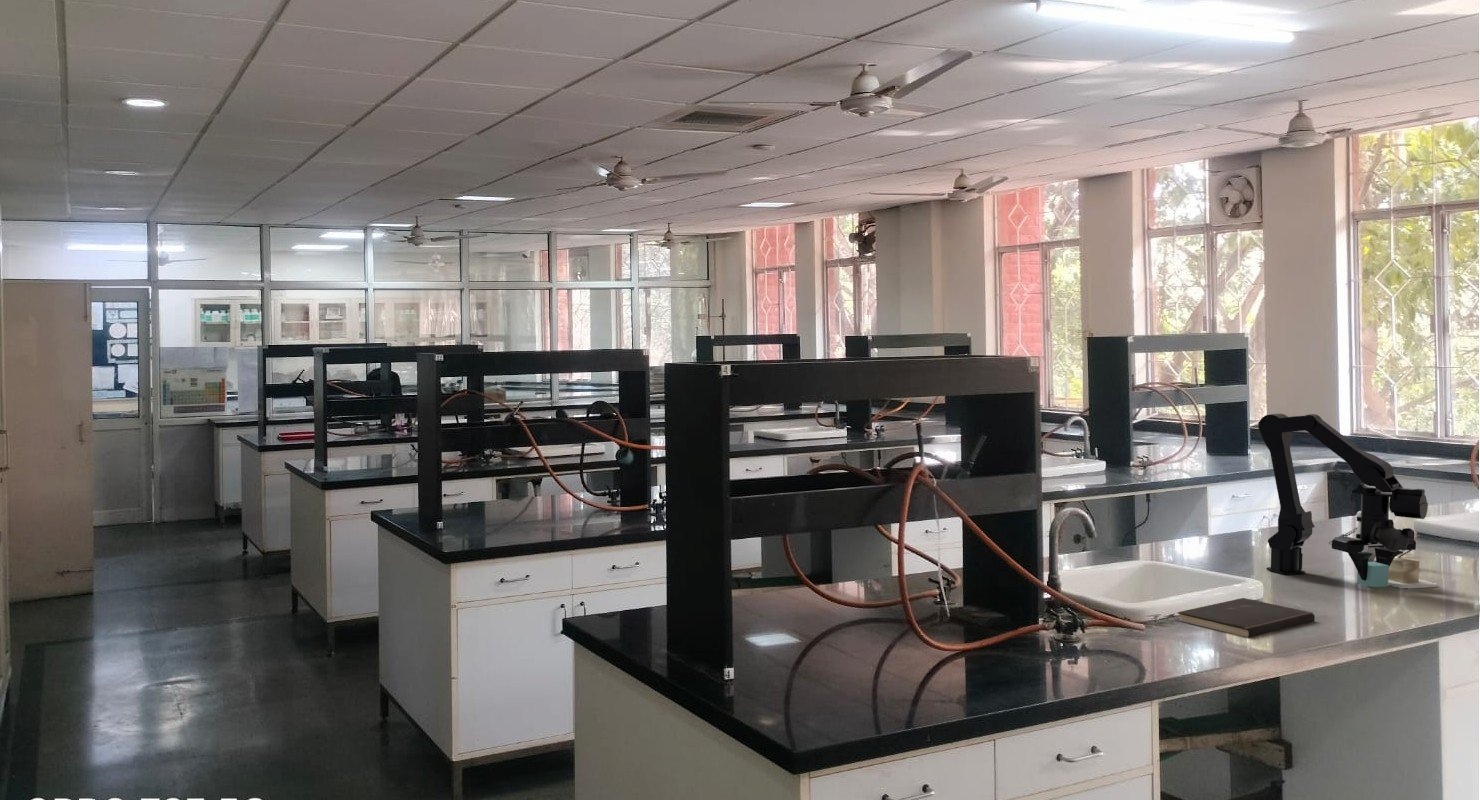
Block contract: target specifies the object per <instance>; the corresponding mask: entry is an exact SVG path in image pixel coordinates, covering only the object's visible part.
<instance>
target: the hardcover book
mask: <svg viewBox="0 0 1480 800" xmlns="http://www.w3.org/2000/svg"><path fill="white" fill-rule="evenodd" d="M1177 614H1178V615H1179V622H1184V623H1186V624H1187V623H1188V624H1191V625H1196V626H1200V627H1205V628H1207V629H1208V628H1209V629H1213V630H1217V631H1221V632H1224V633H1229V634H1233V635H1236V636H1242V637H1245V638H1248V639H1249V638H1255V637H1257V636H1261V635H1267V634H1269V633H1274V632H1278V631H1282V630H1285V629H1289V628H1293V627H1298V626H1302V625H1305V624H1306V625H1307V624H1308V623H1313V622H1314V623H1315V619H1316V618H1315V614H1314V613H1313V612H1312V611H1306V610H1302V609H1297V608H1293V607H1287V606H1283V605H1278V604H1274V603H1273V604H1272V603H1268V602H1263V601H1261V600H1260V601H1259V600H1255V599H1249V598H1244V597H1242V598H1241V597H1240V598H1236V599H1232V600H1227V601H1224V602H1218V603H1214V604H1210V605H1204V606H1200V607H1199V606H1198V607H1195V608H1191V609H1185V610H1182V611H1177Z"/></svg>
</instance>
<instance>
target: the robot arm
mask: <svg viewBox="0 0 1480 800" xmlns="http://www.w3.org/2000/svg"><path fill="white" fill-rule="evenodd" d="M1257 427H1258V431H1259V434H1260V437H1261V440H1262V441H1263V443H1264V444H1265V446H1266V448H1267V449H1268V451H1269V453H1270V459H1271V464H1272V468H1273V469H1272V470H1273V475H1274V480H1275V485H1276V491H1277V496H1278V500H1279V506H1280V507H1279V513H1278V517H1277V532H1275V533H1274V534H1273V535H1271V537H1269V538H1267V543H1268V546H1269V548H1270V567H1269V566H1268V567H1266V570H1267V571H1271V572H1274V573H1278V574H1280V575H1297V574H1306V571H1305V570H1303V555H1304V554H1303V553H1302V549H1303V548H1302V547H1303V546H1304V544H1305V541H1307V540H1308V539H1310V538H1311V536H1312V534H1313V528H1315V527H1316V526H1315V525H1314V523H1313V519H1312V518H1313V514H1312V511H1311V510H1309V511H1305V509H1304V508H1303V506H1302V504H1301V500H1300V495H1299V490H1298V483H1297V479H1296V478H1297V477H1296V473H1295V468H1294V464H1293V459H1292V458H1293V457H1292V452H1291V445H1292V442H1293V432H1302V431H1303V432H1304V431H1305V432H1308V434H1310V435H1311V436H1312V437H1314V438H1315V439H1316V440H1318V441H1319V442H1320V443H1321V444H1323V445H1324V446H1325V447H1326V448H1327V449H1330V450H1331V451H1332V452H1333V453H1334V454H1335V455H1337V456H1338V457H1340V459H1342V460H1343V461H1344V462H1345V463H1346V464H1347V465H1348V466H1349V468H1350V470H1352V471H1351V472H1353V474H1354V475H1355V476H1356V477H1357V478H1358V479H1359V480H1360V481H1361V482H1362V483H1359V484H1358V485H1357V487H1355V488H1354V489H1352V490H1351V493H1352V494H1354V495H1356V494H1357V495H1360V496H1361V501H1360V502H1361V503H1360V507H1361V508H1360V511H1361V517H1357V518H1356V522H1361V526H1360V534H1356V533H1355V535H1356V538H1358V539H1355V537H1350V536H1347V537H1345V536H1344V537H1339V536H1335V537H1334V538H1333V539H1332V540H1331V541H1332V542H1331V543H1332V544H1331V549H1333V550H1336V551H1340V552H1344V553H1347V554H1348V557H1349V558H1350V559H1351V561H1352V563H1353V564H1354V565H1353V566H1355V568H1356V571H1357V572H1358V573H1359V575H1360V577H1361V579H1362V580H1364V581H1365V580H1366V579H1367V571H1368V559H1369V558H1370V556H1371V555H1372V553H1369V552H1368V548H1371V547H1377V548H1375V555H1376V557H1375V562H1377V563H1381V564H1385V565H1389V567H1390V564H1391V562H1392V561H1393V559H1394V558H1397V557H1398V556H1400V555H1402V554H1403V553H1404V552H1406V551H1409V550H1412V551H1415V550H1417V549H1416V548H1417V541H1416V540H1415V530H1413V528H1411V527H1408V528H1407V527H1406V528H1402V529H1401V528H1395V526H1394V525H1395V523H1394V522H1395V521H1394V520H1393V519H1391V518H1390V517H1389V515H1390V512H1391V514H1394V516H1395V517H1400V518H1410V519H1416V520H1417V519H1420V520H1425V519H1426V517H1427V514H1428V508H1429V502H1427V501H1428V499H1427V497H1426V496H1427V495H1426V493H1425V492H1426V490H1425V489H1424V488H1405V487H1404V486H1402V484H1401V482H1400V481H1399V480H1398V479H1397V478H1396V476H1395V475H1394V468H1393V466H1392V465H1391V464H1390V463H1389V462H1388V461H1386V460H1384V459H1382V458H1380V457H1378V456H1377V455H1375V454H1372V453H1370V452H1367V451H1365V450H1364V449H1361V448H1360V447H1359V446H1357V445H1356V444H1355V443H1353V442H1352V441H1351V440H1350V439H1348V438H1347V437H1346V436H1344V435H1343V434H1342V433H1340V432H1339V431H1337V430H1336V429H1335V428H1334V427H1332V426H1331V425H1330V424H1329V423H1327V422H1326V421H1325V420H1323V419H1322V417H1321V416H1320V415H1318V414H1315V413H1310V414H1304V415H1294V416H1288V415H1286V414H1284V413H1272V414H1271V413H1270V414H1267V415H1266V414H1265V415H1264V416H1262V417H1261V418H1260V419H1259V421H1258V424H1257ZM1389 518H1390V519H1389ZM1359 539H1360V540H1359ZM1369 543H1371V544H1369Z"/></svg>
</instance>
